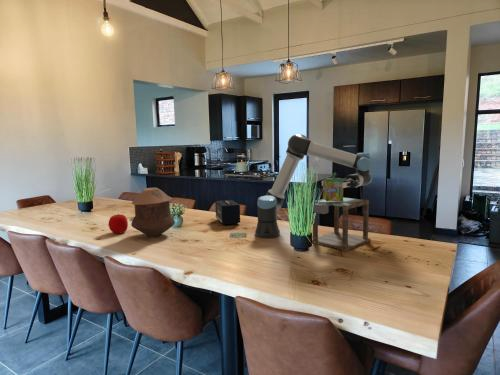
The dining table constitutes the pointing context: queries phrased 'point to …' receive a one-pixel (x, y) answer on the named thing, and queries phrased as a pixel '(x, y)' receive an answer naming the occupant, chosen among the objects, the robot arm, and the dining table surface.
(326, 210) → the trapdoor
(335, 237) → the stand
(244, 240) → the dining table surface
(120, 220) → the tomato
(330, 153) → the robot arm
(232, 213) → the speaker
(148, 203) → the pottery vessel
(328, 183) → the chalk box
